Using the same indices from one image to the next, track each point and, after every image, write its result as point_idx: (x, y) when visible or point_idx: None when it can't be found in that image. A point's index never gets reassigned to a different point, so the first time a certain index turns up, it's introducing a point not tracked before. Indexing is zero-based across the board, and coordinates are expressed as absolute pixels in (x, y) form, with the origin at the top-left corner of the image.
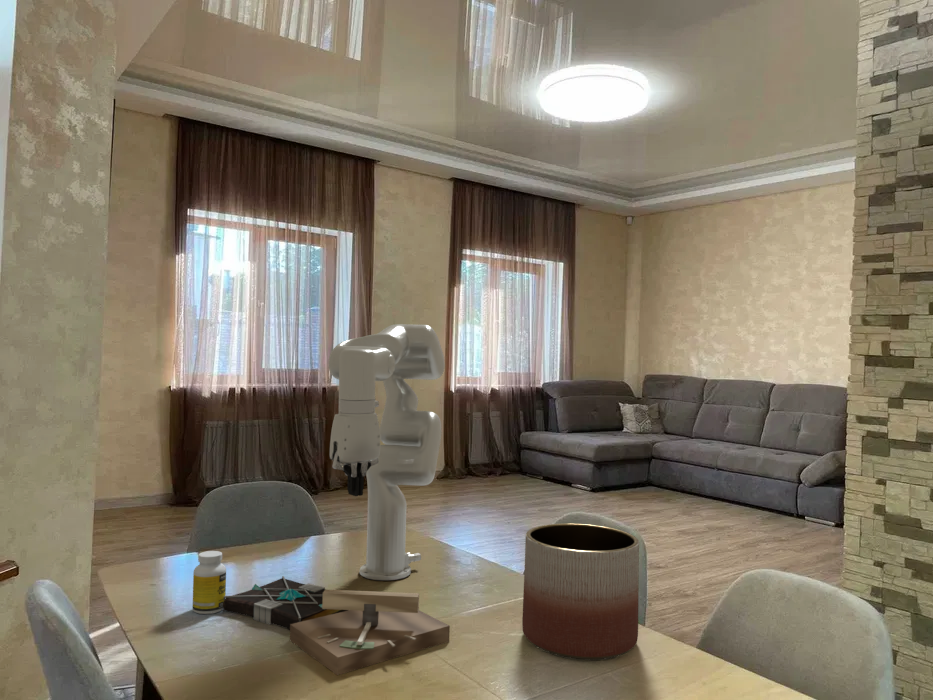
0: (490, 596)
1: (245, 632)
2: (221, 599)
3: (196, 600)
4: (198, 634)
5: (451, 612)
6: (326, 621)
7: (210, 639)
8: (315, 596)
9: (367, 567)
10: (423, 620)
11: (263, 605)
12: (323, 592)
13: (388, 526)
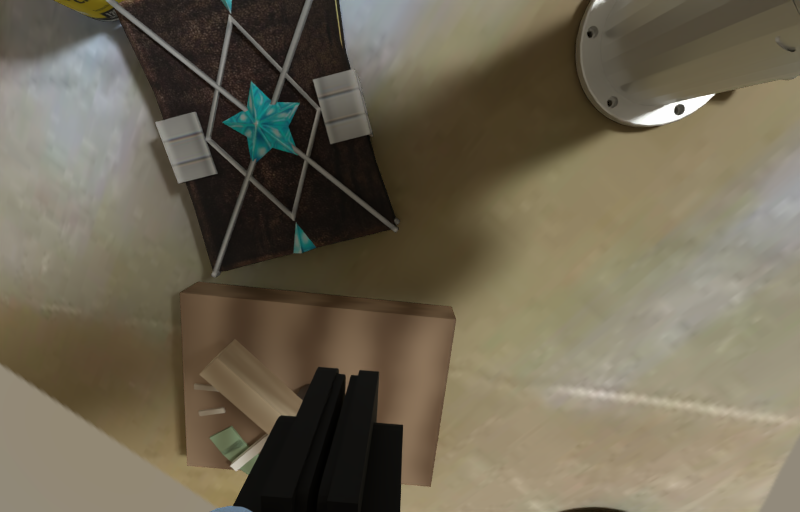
0: (678, 362)
1: (137, 185)
2: (102, 8)
3: None
4: (44, 126)
5: (540, 374)
6: (251, 328)
7: (61, 170)
8: (318, 170)
9: (612, 17)
10: (411, 442)
11: (171, 151)
12: (201, 373)
13: (751, 56)
